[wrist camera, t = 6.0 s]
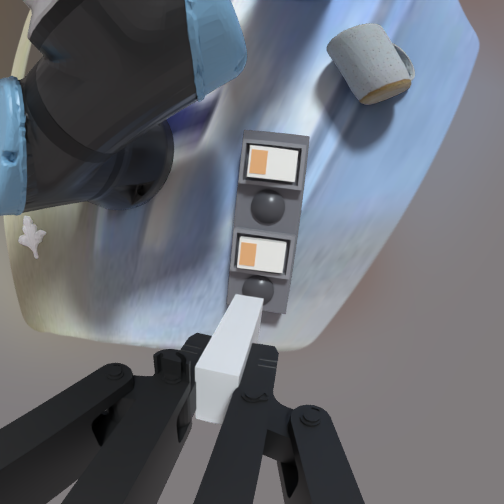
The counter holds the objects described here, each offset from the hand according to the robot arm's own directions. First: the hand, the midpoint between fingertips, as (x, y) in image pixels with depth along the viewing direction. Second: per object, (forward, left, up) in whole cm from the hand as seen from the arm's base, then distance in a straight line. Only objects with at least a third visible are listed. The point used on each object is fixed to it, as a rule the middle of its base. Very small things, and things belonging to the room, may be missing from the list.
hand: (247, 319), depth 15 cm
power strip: (-1, +3, -20) cm, 20 cm away
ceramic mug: (+9, +23, -21) cm, 33 cm away
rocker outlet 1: (-1, +9, -16) cm, 18 cm away
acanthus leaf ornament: (-44, -5, -21) cm, 50 cm away
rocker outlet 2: (-1, 0, -16) cm, 16 cm away
